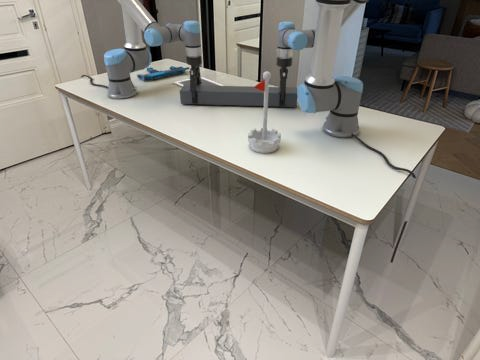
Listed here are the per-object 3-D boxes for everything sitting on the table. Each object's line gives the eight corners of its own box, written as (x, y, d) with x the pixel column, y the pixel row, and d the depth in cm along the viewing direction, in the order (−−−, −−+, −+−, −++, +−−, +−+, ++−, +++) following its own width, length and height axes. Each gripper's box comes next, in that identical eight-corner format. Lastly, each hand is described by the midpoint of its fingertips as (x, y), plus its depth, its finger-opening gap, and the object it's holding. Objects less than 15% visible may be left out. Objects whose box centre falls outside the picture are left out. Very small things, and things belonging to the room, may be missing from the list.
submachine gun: (174, 61, 240) (194, 66, 223) (175, 66, 242) (194, 72, 225) (128, 70, 221) (146, 76, 205) (130, 76, 223) (147, 82, 207)
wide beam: (295, 100, 179) (296, 87, 176) (296, 106, 171) (297, 93, 168) (184, 97, 184) (183, 84, 180) (180, 103, 176) (179, 90, 172)
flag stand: (271, 137, 144) (275, 65, 128) (285, 150, 134) (292, 74, 118) (243, 142, 140) (243, 68, 124) (255, 156, 130) (257, 78, 114)
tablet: (173, 83, 208) (173, 82, 207) (200, 76, 219) (200, 76, 218) (203, 96, 187) (203, 95, 187) (231, 88, 198) (231, 87, 198)
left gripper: (190, 50, 176) (193, 92, 188) (181, 61, 158) (185, 107, 170) (205, 50, 176) (207, 92, 188) (197, 61, 157) (200, 107, 169)
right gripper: (276, 51, 173) (274, 94, 185) (277, 62, 154) (274, 109, 167) (291, 52, 172) (288, 94, 185) (293, 63, 154) (289, 110, 166)
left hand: (196, 99), depth 179 cm, fingers closed on wide beam, 9 cm apart
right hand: (281, 101), depth 176 cm, fingers closed on wide beam, 9 cm apart
